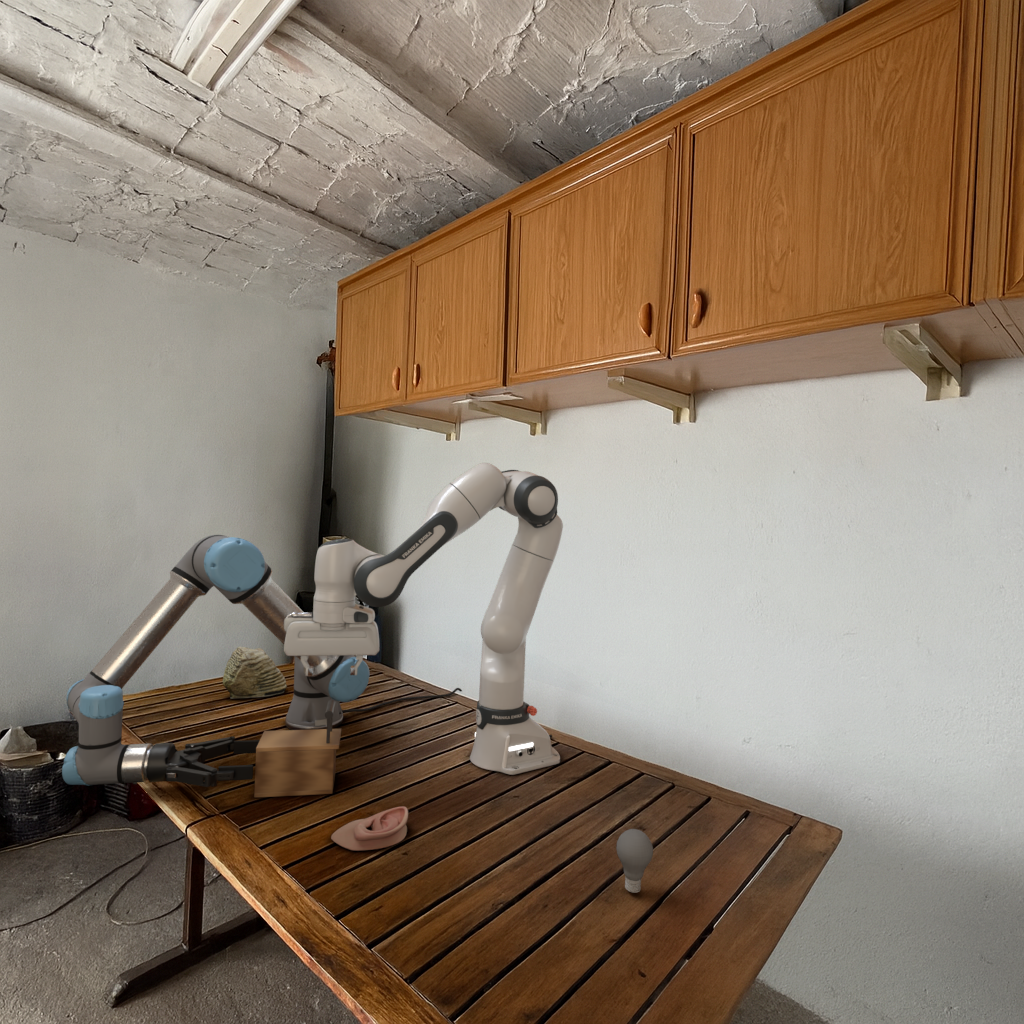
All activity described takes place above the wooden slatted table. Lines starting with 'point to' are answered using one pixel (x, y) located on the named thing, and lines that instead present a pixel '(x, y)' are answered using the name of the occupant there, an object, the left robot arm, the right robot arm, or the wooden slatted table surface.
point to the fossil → (252, 674)
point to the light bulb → (634, 857)
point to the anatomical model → (374, 830)
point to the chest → (294, 772)
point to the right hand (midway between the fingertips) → (331, 675)
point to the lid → (302, 737)
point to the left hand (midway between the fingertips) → (259, 758)
